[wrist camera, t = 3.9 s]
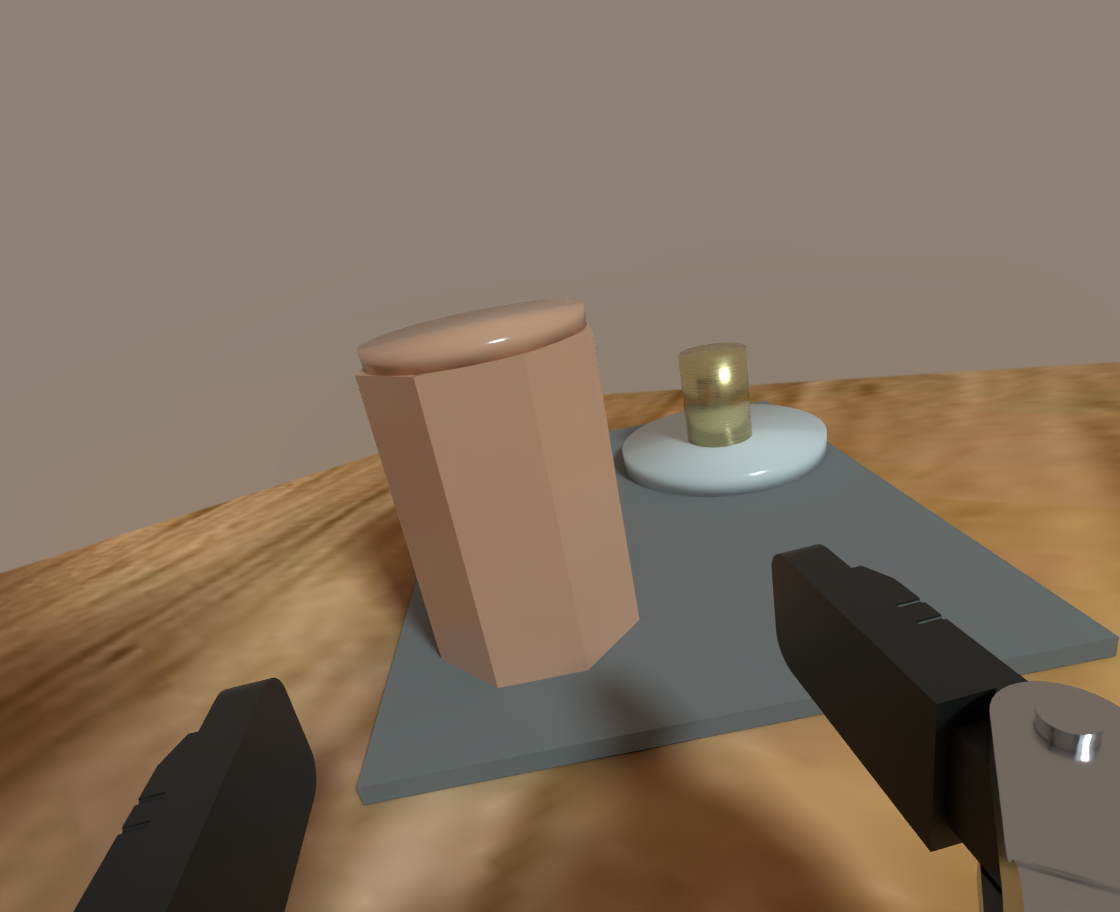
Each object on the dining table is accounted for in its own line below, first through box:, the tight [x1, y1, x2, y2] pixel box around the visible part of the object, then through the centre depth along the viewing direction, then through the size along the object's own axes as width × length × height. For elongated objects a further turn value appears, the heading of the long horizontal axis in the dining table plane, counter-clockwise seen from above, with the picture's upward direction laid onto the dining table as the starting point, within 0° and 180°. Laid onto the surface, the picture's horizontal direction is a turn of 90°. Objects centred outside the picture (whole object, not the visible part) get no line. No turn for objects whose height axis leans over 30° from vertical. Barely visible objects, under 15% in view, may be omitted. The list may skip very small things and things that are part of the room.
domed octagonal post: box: [355, 299, 639, 688], centre depth 20 cm, size 7×7×10 cm
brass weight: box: [678, 343, 753, 448], centre depth 31 cm, size 3×3×4 cm
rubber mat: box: [357, 401, 1119, 805], centre depth 27 cm, size 20×24×1 cm
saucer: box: [622, 404, 827, 497], centre depth 32 cm, size 10×10×1 cm
